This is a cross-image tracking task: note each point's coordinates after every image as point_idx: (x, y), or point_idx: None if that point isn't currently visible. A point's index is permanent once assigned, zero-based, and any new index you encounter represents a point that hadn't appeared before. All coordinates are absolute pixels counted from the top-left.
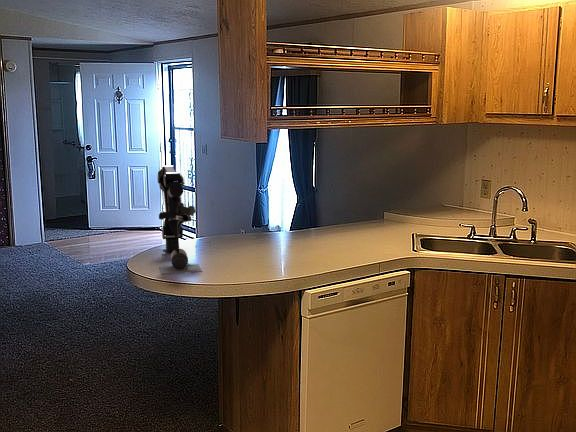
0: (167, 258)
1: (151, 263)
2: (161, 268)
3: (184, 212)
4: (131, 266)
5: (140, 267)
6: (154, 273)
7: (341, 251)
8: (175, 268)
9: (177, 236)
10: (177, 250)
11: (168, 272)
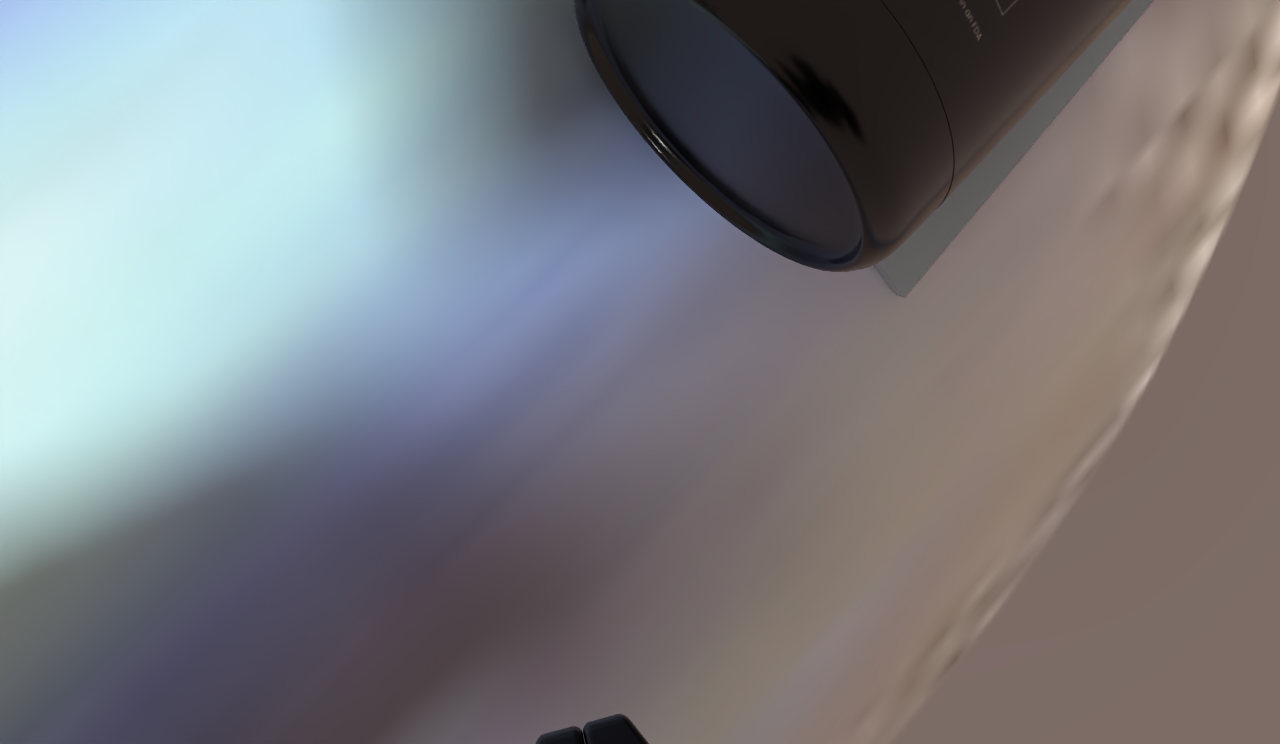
0: (319, 708)
1: (743, 603)
2: (968, 190)
3: None
4: (960, 656)
5: (964, 528)
6: (1146, 111)
7: None
8: None
9: (623, 718)
10: (1042, 4)
11: None
